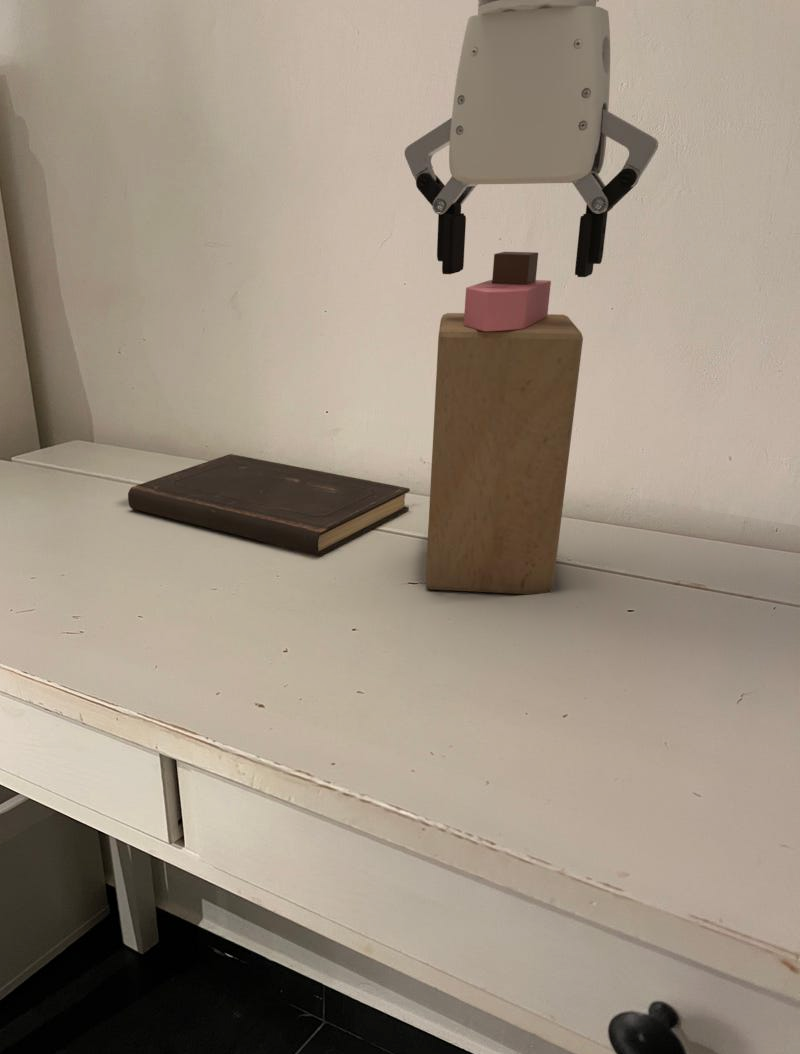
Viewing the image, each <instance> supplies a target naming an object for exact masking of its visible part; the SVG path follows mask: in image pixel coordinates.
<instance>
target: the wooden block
mask: <svg viewBox="0 0 800 1054" xmlns="http://www.w3.org/2000/svg"><path fill="white" fill-rule="evenodd" d="M437 338H438V339H437V353H436V355H437V356H436V359H437V360H436V373H435V392H434V393H435V394H434V395H435V396H434V413H433V432H432V449H431V451H432V452H431V470H430V491H429V509H428V525H427V526H428V528H427V547H426V565H425V566H426V567H425V581H424V582H425V585H426V588H427V589H430V590H437V591H439V590H440V591H457V592H458V591H460V592H476V593H477V592H480V593H498V594H515V595H516V594H518V595H541V594H551V593H552V592H553V591H554V583H555V575H556V566H557V557H558V550H559V542H560V533H561V523H562V517H563V508H564V501H565V492H566V482H567V475H568V467H569V458H570V449H571V441H572V433H573V426H574V425H573V424H574V418H575V409H576V402H577V401H576V400H577V392H578V383H579V375H580V366H581V360H582V359H581V358H582V351H583V350H582V349H583V343H584V342H583V341H584V336H583V334H582V332H581V331H580V329H579V328H578V327H577V325H576V324H575V323H574V322H573V321H572V320H571V319H570V317H569V316H567V315H566V314H554V313H553V314H552V313H551V314H548V315H547V317H545V318H543V319H541V320H540V321H538V322H536V323H534V324H532V325H530V326H528V327H526V328H525V329H520V330H502V331H482V330H478V329H474V328H470V327H467V326H464V312H460V313H459V312H447V313H443V314H442V316H441V318H440V323H439V330H438V337H437Z"/></svg>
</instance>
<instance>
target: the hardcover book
mask: <svg viewBox="0 0 800 1054" xmlns="http://www.w3.org/2000/svg"><path fill="white" fill-rule="evenodd" d="M410 491H411V490H410V488H409V487H405V486H399V485H394V484H389V483H383V482H378V481H373V480H368V479H363V478H358V477H353V476H347V475H344V474H343V475H342V474H338V473H333V472H327V471H321V470H316V469H311V468H306V467H300V466H295V465H290V464H285V463H280V462H275V461H269V460H264V459H259V458H253V457H248V456H243V455H238V454H234V453H229V454H226V455H223V456H219V457H217V458H214V459H211V460H208V461H205V462H201V463H199V464H196V465H193V466H191V467H187V468H185V469H181V470H179V471H175V472H172V473H169V474H167V475H163V476H161V477H158V478H155V479H152V480H149V481H145V482H143V483H140V484H137V485H133V486H131V487H130V489H129V490H128V493H127V500H128V506H129V507H130V509H132V510H134V511H139V512H143V513H147V514H151V515H154V516H159V517H162V518H166V519H170V520H174V521H179V522H183V523H187V524H191V525H195V526H200V527H203V528H207V529H211V530H214V531H219V532H222V533H226V534H231V535H235V536H239V537H242V538H247V539H250V540H255V541H259V542H263V543H266V544H270V545H274V546H277V547H282V548H286V549H291V550H295V551H298V552H303V553H306V554H311V555H314V556H319V557H321V556H324V555H326V554H327V553H330V552H331V551H333V550H335V549H337V548H339V547H341V546H343V545H345V544H347V543H348V542H350V541H353V540H354V539H357V538H358V537H360V536H362V535H364V534H365V533H368V532H370V531H372V530H374V529H375V528H377V527H379V526H381V525H383V524H384V523H387V522H388V521H390V520H393V519H394V518H396V517H398V516H401V515H402V514H405V513H406V512H408V511H410V507H409V506H405V505H406V502H405V501H406V500H405V499H406V494H408V493H409V492H410Z"/></svg>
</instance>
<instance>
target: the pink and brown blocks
mask: <svg viewBox="0 0 800 1054" xmlns="http://www.w3.org/2000/svg"><path fill="white" fill-rule="evenodd" d="M538 260H539V252H536V251H535V252H533V251H502V252H497V253H494V254H493V264H492V265H493V266H492V279H489V280H487V281H483V282H479V283H477V284H474V285H470V286H467V287H465V297H464V299H465V300H464V312H463V313H464V326H467V327H470V328H474V329H478V330H482V331H502V330H520V329H525V328H526V327H528V326H530V325H532V324H534V323H536V322H538V321H540V320H541V319H543V318H545V317H547V315H548V312H549V306H550V305H549V304H550V295H551V294H550V293H551V285H552V280H545V279H537V271H538Z"/></svg>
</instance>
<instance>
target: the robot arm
mask: <svg viewBox="0 0 800 1054" xmlns="http://www.w3.org/2000/svg"><path fill="white" fill-rule="evenodd" d="M477 2H478V3H477V14H476V15H471V16H468V19H467V23H466V27H465V31H464V35H463V41H462V45H461V51H460V57H459V62H458V66H457V67H458V68H457V74H456V80H455V86H454V95H453V101H452V102H453V103H452V111H451V117H450V118H449V119H447V120H446V121H444V122H442V123H441V124H440V125H438V126H437V127H435V128H433V129H432V130H430V131H429V132H428V133H427V132H426V133H425V134H424V135H422V136H421V137H419V138H418V139H417V140H415V141H413V142H412V143H410V144H409V145H407V146H406V147H405V149H404V158H405V160H406V162H407V165H408V167H409V169H410V171H411V174H412V177H413V178H414V180H415V186H416V188H417V190H418V191H419V192H420V194H421V195H422V196H423V197H424V198H425V200H427V202H428V204H429V205H430V206H431V207H432V210H433V212H434V213H435V214H436V215H438V216H437V217H438V218H437V240H436V243H437V244H436V245H437V246H436V258H437V261H438V262H441V273H442V275H452V274H456V273H460V272H461V271H463V270H464V266H465V245H466V227H467V226H466V225H467V217H466V215H465V213H463V212H462V205H463V204H464V203H465V202H466V200H467V199H468V198H469V197H470V195H471V194H472V193H473V191H474V190H475V189H476V187H477V186H478V185H523V184H524V185H527V184H528V185H531V184H533V185H534V184H573V186H574V187H575V189H576V191H577V192H578V193H579V195H580V197H582V199H583V200H584V202H585V204H586V205H585V213H583V215H581V216H580V218H579V227H578V228H579V229H578V237H577V247H576V248H577V249H576V257H575V268H574V275H575V276H577V278H587V277H589V276H592V274H593V272H594V271H593V270H594V265H600V264H602V261H603V257H604V247H605V239H606V231H607V222H608V213H609V212H610V211H612V209H613V208H614V207H615V206H616V205H617V204H618V203H619V202H620V201H621V200H622V199H623V198H624V197H625V196H626V195H627V194H629V193H630V192H631V190H632V189H634V188H635V186H636V185H637V184H638V182H639V180H640V179H641V177H642V175H643V173H644V172H645V170H646V169H647V167H648V165H649V163H650V162H651V160H652V159H653V157H654V155H655V154H656V151H657V150H658V148H659V141H658V139H657V138H656V137H654V136H652V135H650V134H649V133H647V132H645V131H644V130H642V129H640V128H639V127H636V125H635V126H634V125H633V124H631V123H630V122H628V121H626V120H624V119H623V118H621V117H619V116H617V115H615V114H614V113H612V112H611V111H609V108H610V107H609V105H610V88H611V87H610V86H611V85H610V83H611V29H610V28H611V27H610V16H609V10H607V9H605V8H603V7H600V6H597V3H598V2H600V0H477ZM607 138H609V139H611V140H612V141H614V142H616V143H618V144H620V145H621V146H623V147H625V148H626V149H627V151H628V157H627V160H626V161H625V163H624V165H623V167H622V168H621V170H620V171H619V172H618V173H617V174H616V175H615V176H614V177H613V178H612V179H611V180H610V181H609V182H608V183H607V184H605V183H604V181H603V179H602V178H601V176H600V173H601V172H602V169H603V167H604V162H605V156H606V149H607ZM448 146H449V147H448ZM446 147H448V148H449V150H448V165H449V172H450V175H451V177H450V178H449V179H448V181H447V182H446V184H444V183H443V181H442V180H441V179H440V178H439V177H438V175H437V174H436V173H435V171H434V167H433V165H432V158H433V156H434V155H435V154H437V153H438V152H440V151H441V150H444V149H445V148H446Z"/></svg>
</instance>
